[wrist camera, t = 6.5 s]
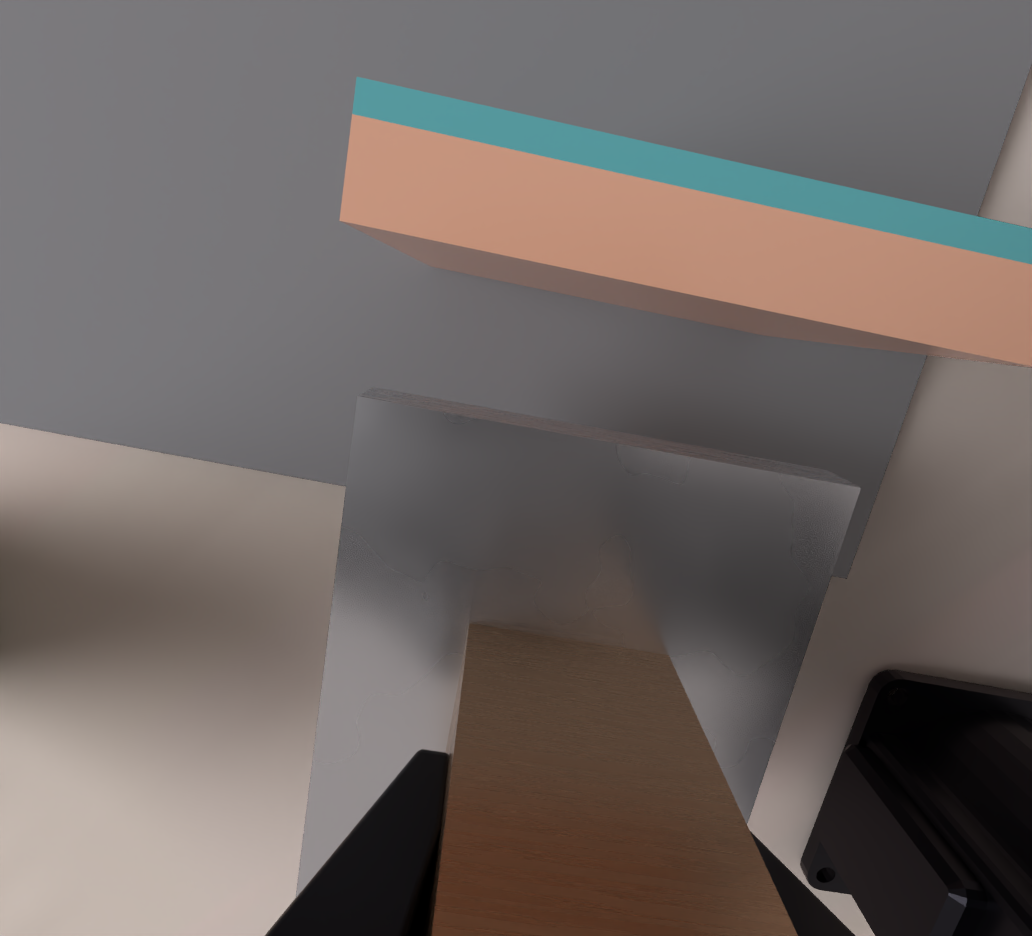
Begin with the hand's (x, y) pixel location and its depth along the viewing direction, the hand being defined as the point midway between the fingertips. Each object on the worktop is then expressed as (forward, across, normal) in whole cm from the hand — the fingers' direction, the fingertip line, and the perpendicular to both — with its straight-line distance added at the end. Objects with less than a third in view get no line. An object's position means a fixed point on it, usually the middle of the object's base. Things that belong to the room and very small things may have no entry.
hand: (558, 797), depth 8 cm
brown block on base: (+2, 0, 0) cm, 2 cm away
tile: (+6, 0, -7) cm, 9 cm away
